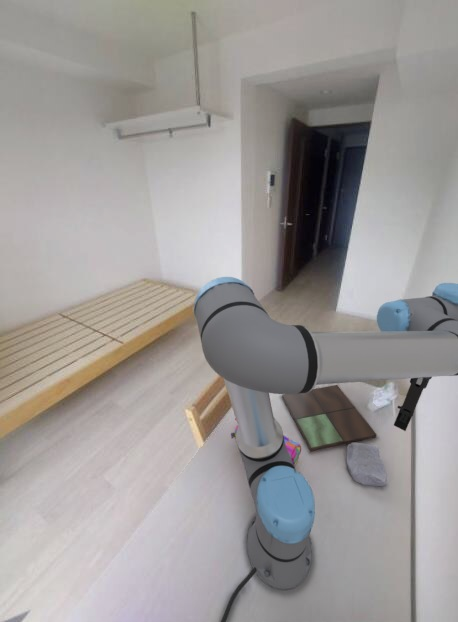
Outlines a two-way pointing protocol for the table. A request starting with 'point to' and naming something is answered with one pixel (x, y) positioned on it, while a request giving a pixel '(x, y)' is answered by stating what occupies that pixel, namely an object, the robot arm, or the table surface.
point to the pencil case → (291, 446)
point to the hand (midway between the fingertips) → (406, 411)
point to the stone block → (365, 464)
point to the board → (327, 418)
